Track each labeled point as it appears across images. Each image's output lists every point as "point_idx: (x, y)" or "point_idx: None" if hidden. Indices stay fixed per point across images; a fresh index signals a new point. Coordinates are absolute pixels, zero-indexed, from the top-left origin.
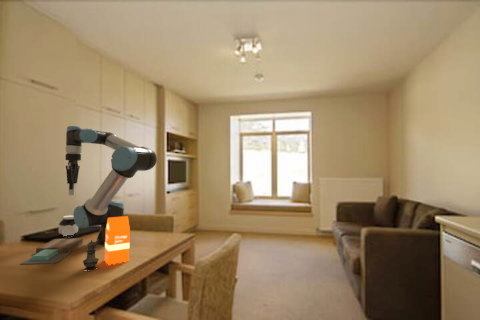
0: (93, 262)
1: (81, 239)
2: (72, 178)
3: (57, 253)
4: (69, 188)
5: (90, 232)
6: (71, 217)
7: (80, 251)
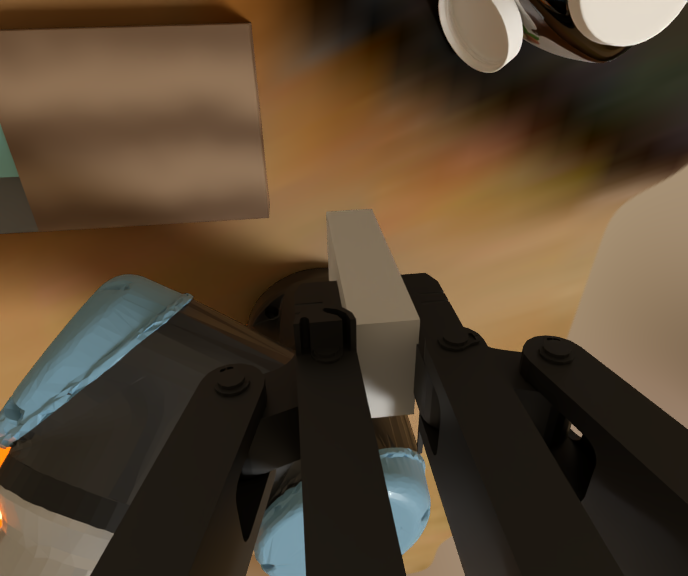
0: None
1: (250, 217)
2: (244, 549)
3: None
4: (294, 296)
5: (586, 127)
6: (584, 26)
7: (107, 262)
